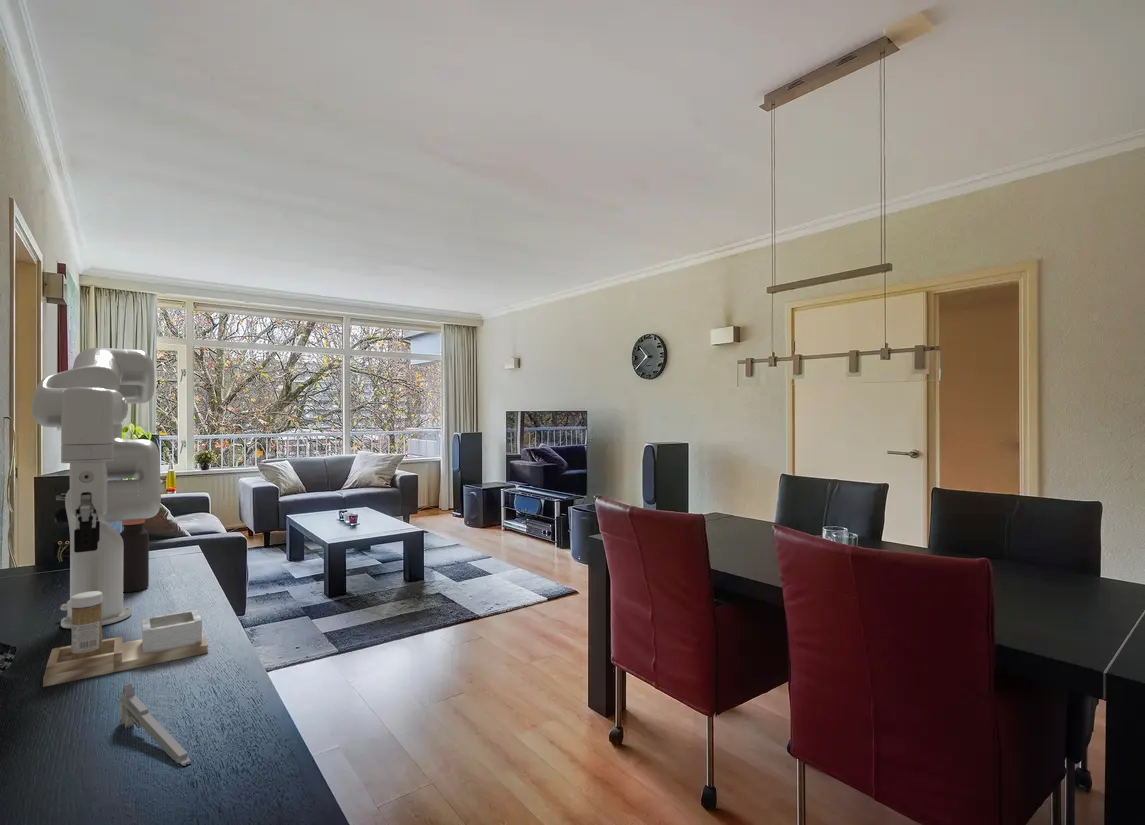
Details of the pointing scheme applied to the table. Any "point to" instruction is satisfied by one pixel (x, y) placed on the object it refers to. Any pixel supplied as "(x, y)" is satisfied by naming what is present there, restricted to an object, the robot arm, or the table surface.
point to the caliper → (148, 724)
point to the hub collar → (171, 631)
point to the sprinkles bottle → (86, 624)
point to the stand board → (110, 660)
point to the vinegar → (135, 555)
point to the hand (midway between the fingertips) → (87, 546)
